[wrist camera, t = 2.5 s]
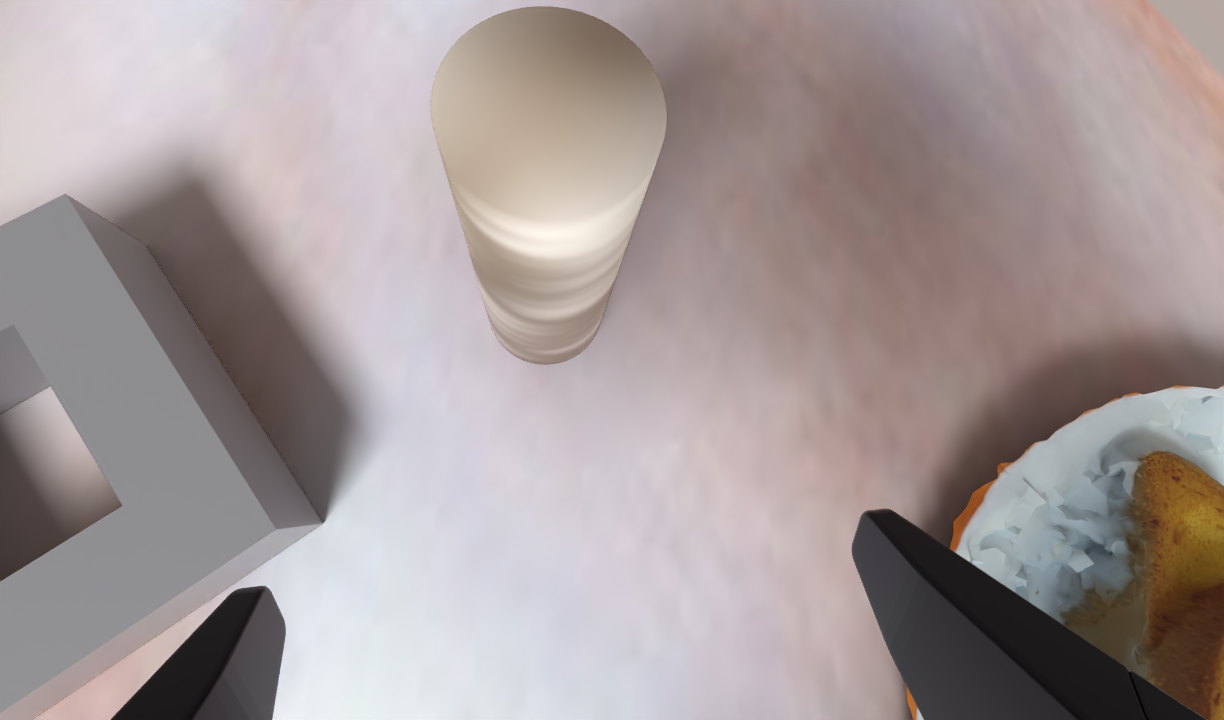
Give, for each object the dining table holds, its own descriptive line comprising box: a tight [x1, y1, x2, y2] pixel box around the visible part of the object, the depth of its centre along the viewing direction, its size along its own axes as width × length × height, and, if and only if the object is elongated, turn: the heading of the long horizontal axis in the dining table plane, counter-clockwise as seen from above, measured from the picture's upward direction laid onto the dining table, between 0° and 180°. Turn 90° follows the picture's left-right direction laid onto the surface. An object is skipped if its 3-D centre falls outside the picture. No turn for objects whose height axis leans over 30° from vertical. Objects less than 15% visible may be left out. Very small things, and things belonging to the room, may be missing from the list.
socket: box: [0, 194, 323, 720], centre depth 19 cm, size 12×12×4 cm
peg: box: [431, 7, 667, 364], centre depth 18 cm, size 4×4×13 cm
